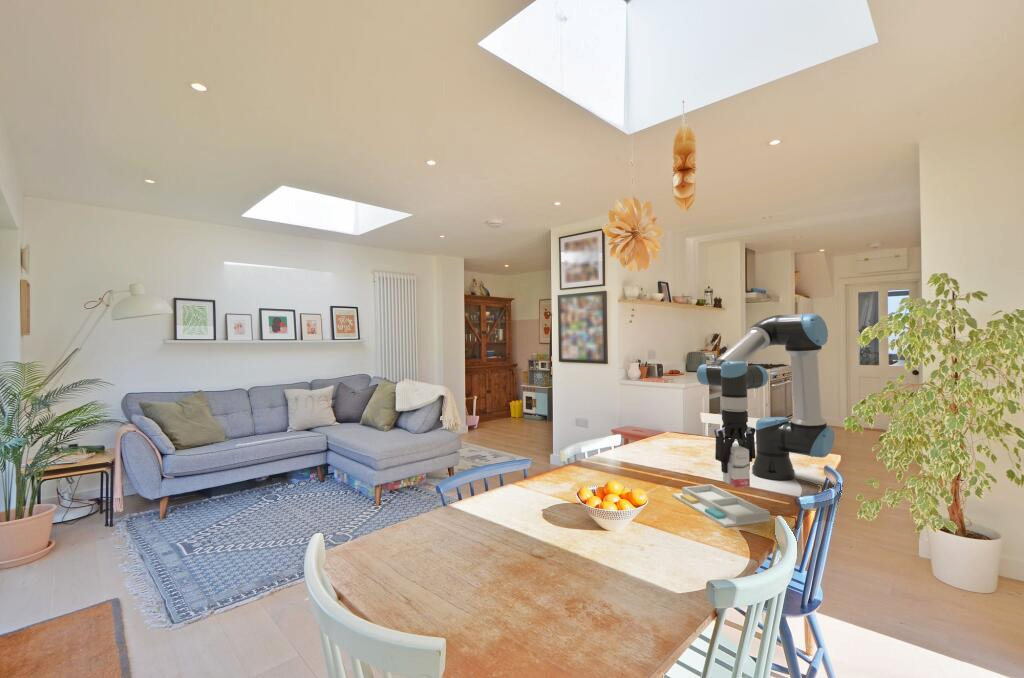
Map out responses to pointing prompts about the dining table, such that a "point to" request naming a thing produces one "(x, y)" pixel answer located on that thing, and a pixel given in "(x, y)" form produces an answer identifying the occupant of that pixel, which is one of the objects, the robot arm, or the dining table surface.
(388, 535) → the dining table surface
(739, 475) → the ink box
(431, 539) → the dining table surface
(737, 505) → the dock board
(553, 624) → the dining table surface
